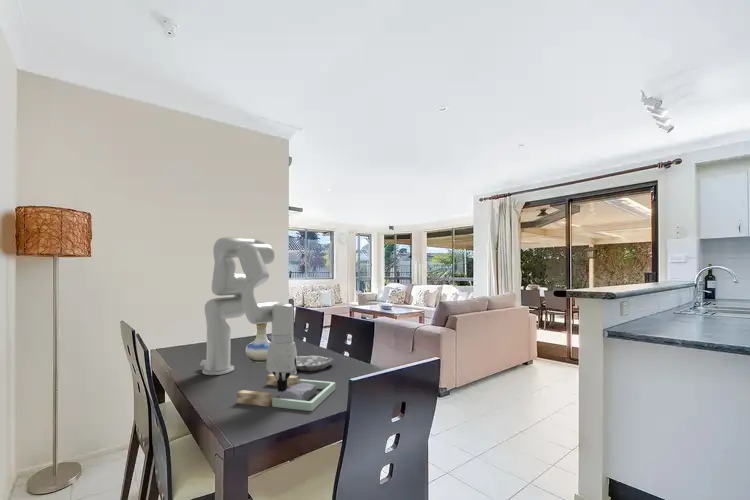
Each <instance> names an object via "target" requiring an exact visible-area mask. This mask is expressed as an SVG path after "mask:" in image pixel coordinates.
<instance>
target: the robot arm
mask: <svg viewBox="0 0 750 500" xmlns="http://www.w3.org/2000/svg"><path fill="white" fill-rule="evenodd" d="M237 258H238V259H239V264H240V266H241V269H242V272H243V273H241V272H238V273H236V266H237V265H236V261H235V259H237ZM213 259H214V260H213V261H214V266H213V274H212V280H211V281H212V282H211V292H212V294H214V295H215V296H219V297H214V298H211V299H209V300H207V301H206V303H205V304H204V315H205V321H206V359H202V360H201V362H200V363H199V366H202V367H203V369H202V374H203V375H206V376H219V375H225V374H228V373H231V372H233V371H234V370H235V366H234V365H232V364H231V350H232V349H231V348H232V347H231V341H232V340H231V338H232V337H231V335H232V334H231V333H232V332H231V326H230V325H229V324H228V322H227V321H226V320H228V319H236V318H241V317H242V316H246V319H247V320H248V322H249V323H251V324H253V325H261V324H266V323H271V334H269V335H268V338H269V339H271V341H270V342H269V343H268V348H267V354H266V370H267V372H268V373H269V374H273V375H274V376H275V377H276V380H277V387H276V388H277V392H278V393H279V392H280V393H281V392H284V391H285V390H286V389H287V388H288V387H287V378H289V376H296V375H297V372H298V371H297V356H298V355H297V354H298V352H297V346H296V345H297V344H296V342H295V341H294V305H293V304H291V303H284V302H282V301H275V300H274V301H263V302H257V301H256V298H255V295H254V294H255V293H254V292H255V291H254V290H255V288H258V287H260V286H261V285H264V284H265V283H266V282H267V281H268V280H269V278H270V274H269V273H270V272H269V271H268V269H267V267H266V265H270V264H271V263H273V262H274V260H275V251H274V249H273V247H272V246H271V245H270V244H269V243H266V242H264V241H262V240H258V239H255V238H251V237H250V238H249V237H248V238H247V237H236V236H235V237H233V236H231V237H229V236H227V237H220V238H218V239H217V240H216V241H215V242H214V244H213ZM221 296H222V297H221ZM223 296H224V297H223ZM226 296H227V297H226Z"/></svg>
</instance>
